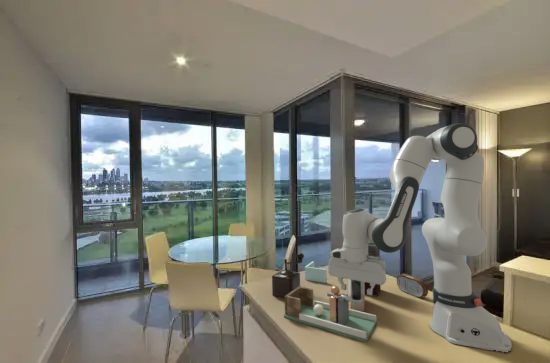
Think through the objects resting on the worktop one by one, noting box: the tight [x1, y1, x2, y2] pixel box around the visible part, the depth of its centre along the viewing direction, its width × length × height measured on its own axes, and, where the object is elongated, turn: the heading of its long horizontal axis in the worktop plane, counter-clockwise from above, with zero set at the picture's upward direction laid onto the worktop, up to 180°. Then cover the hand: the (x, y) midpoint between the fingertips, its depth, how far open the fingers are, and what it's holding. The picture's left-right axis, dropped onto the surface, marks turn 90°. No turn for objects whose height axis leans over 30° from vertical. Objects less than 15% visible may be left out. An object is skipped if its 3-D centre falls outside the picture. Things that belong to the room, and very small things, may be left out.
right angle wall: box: [304, 260, 328, 284], centre depth 150 cm, size 12×12×8 cm
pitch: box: [283, 292, 377, 343], centre depth 103 cm, size 32×14×10 cm, turn 56°
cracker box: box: [347, 279, 366, 313], centre depth 116 cm, size 14×6×21 cm, turn 168°
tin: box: [396, 273, 429, 299], centre depth 126 cm, size 15×3×8 cm, turn 25°
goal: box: [284, 285, 314, 318], centre depth 110 cm, size 7×12×7 cm, turn 146°
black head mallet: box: [327, 280, 363, 322], centre depth 100 cm, size 13×6×15 cm, turn 56°
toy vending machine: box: [365, 243, 382, 297], centre depth 131 cm, size 9×11×28 cm
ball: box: [313, 304, 324, 315], centre depth 106 cm, size 4×4×4 cm
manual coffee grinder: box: [271, 252, 305, 299], centre depth 132 cm, size 16×11×18 cm
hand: (356, 291), depth 97 cm, fingers open, 8 cm apart
